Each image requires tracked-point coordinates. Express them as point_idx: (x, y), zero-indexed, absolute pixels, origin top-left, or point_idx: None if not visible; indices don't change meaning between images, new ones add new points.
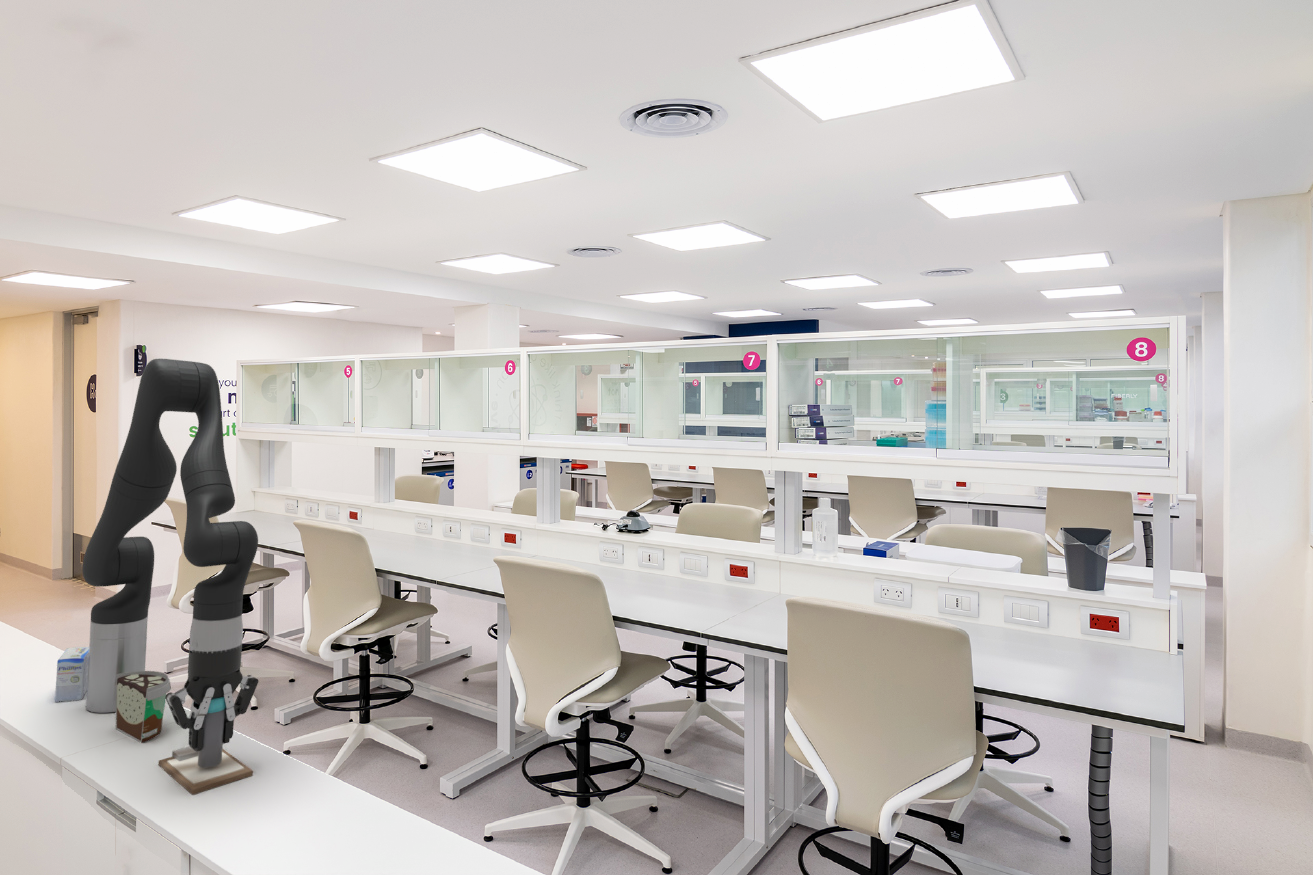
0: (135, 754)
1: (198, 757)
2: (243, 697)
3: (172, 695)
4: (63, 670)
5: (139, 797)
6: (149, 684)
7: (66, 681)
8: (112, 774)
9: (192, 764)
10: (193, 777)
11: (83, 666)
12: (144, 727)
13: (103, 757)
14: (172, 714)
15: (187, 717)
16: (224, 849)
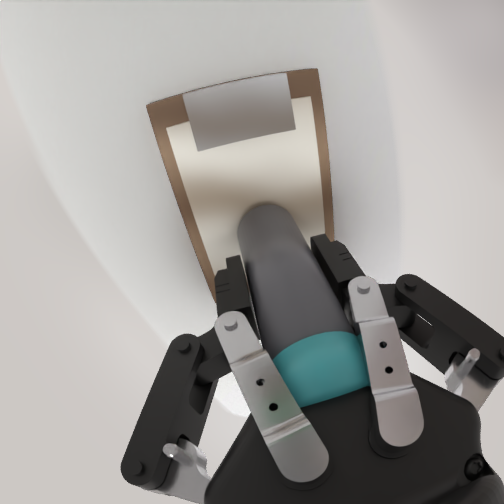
0: (101, 6)
1: (240, 248)
2: (427, 352)
3: (157, 492)
4: None
5: (119, 265)
6: None
7: None
8: (49, 121)
9: (228, 187)
10: (221, 260)
11: None
12: None
13: (36, 9)
14: (154, 385)
15: (211, 402)
16: (235, 402)
